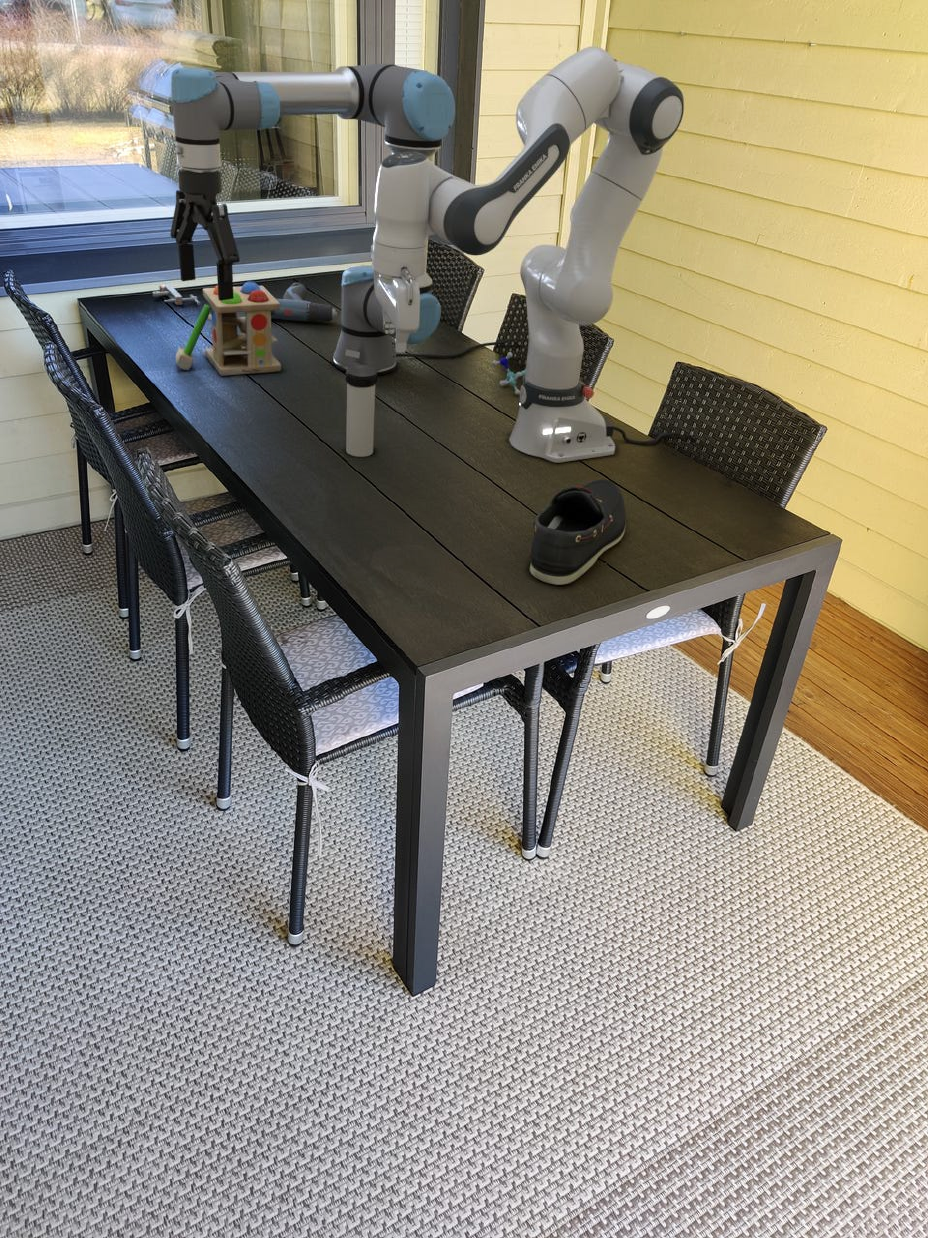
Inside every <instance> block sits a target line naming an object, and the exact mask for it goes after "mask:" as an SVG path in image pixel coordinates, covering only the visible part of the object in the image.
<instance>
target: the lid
mask: <svg viewBox="0 0 928 1238" xmlns="http://www.w3.org/2000/svg"><path fill="white" fill-rule="evenodd" d="M345 382H346V384H347V383H348V384H350V385H352V386H356V387H370V386H373V385H375V386H376V385H377V382H378V375H377V371H376V370H375V369H374V368H371V367H368V366H352V367H349V368H348V369H347V370H346V372H345Z"/></svg>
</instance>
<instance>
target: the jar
mask: <svg viewBox="0 0 928 1238" xmlns="http://www.w3.org/2000/svg"><path fill="white" fill-rule="evenodd" d="M375 402H376V384H375V385H373V386H370V387H356V386H352V385H350V384H348V383H347V382H346V431H345V432H346V433H345V434H346V435H345V436H346V438H345V442H346V443H345V451H346V453H347V454H348V455H350V456H351V457H352V456H353V457H357V458H363V457H369V456H371V455H372V454H374V437H375V436H374V434H375V433H374V432H375V405H376V403H375Z"/></svg>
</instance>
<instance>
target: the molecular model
mask: <svg viewBox="0 0 928 1238" xmlns="http://www.w3.org/2000/svg"><path fill="white" fill-rule="evenodd" d="M512 357H513V353H512V352H510V351H509V352H507V355H506V357H502V358H501V359H500V360H492V361H491V365H492V366H498V365H501V366H503V367H504V368H505V370H506V372H507V374H506V379H505V380H500V381H499V386H501V387H504V386H505V387H506V386H507V385H509V386H511V387H512V388H513V389H514V394H515V396H520V389H518V387H517V385H516V384H517V380H518V379H519V378H521V377H522V378H523V376H524V375H525V371H526V367H525V368H524V370H521V371H517V372H516V373H514V372H513V371H511V370H510V368H509V365H508V362H509V359H510V358H512ZM526 362H527V358H526V359H525V363H526Z"/></svg>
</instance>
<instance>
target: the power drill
mask: <svg viewBox="0 0 928 1238" xmlns="http://www.w3.org/2000/svg"><path fill="white" fill-rule="evenodd" d="M307 295H308V290H307V287H306V285H304V284H303V283H301V282H293V283H292V284H291V285H290V286H289V287H288V288H287V289H286V291H285V292H284V294H283V297H282V298H275V299H276V300H277V301H278V302H279V303H280V310H271V319H274V320H275V319H276V320H283V321H294V322H295V321H297V322H332V321H333V320H334V319H336V318H337V317H338V312H337V311H336V308H334V307H333V306H332V305H331V304H324V303H317V302H313V301H307V300H305V299H306V297H307Z"/></svg>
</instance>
